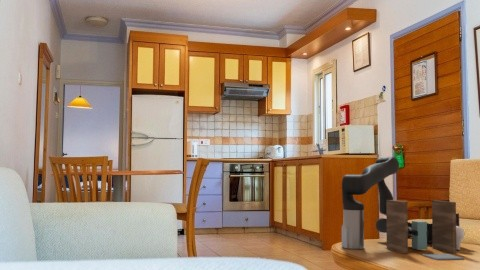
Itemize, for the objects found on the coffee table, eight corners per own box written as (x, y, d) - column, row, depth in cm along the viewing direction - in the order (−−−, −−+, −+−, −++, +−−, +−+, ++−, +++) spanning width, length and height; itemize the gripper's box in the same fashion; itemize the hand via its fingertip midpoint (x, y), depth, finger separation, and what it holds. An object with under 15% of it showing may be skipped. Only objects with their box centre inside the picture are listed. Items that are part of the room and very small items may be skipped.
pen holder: (415, 243, 249) (415, 223, 250) (413, 241, 258) (413, 221, 259) (436, 244, 247) (435, 224, 248) (433, 242, 256) (433, 222, 257)
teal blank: (417, 249, 223) (417, 222, 224) (411, 247, 228) (411, 220, 229) (426, 249, 224) (426, 222, 225) (420, 247, 228) (420, 221, 229)
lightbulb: (464, 250, 230) (463, 225, 231) (465, 252, 224) (465, 226, 225) (449, 249, 232) (448, 224, 233) (450, 251, 226) (449, 226, 227)
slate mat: (436, 260, 200) (436, 258, 200) (421, 255, 211) (421, 254, 211) (463, 259, 203) (463, 258, 203) (447, 255, 213) (447, 253, 213)
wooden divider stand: (404, 254, 214) (404, 201, 216) (386, 248, 230) (386, 199, 232) (456, 253, 219) (455, 202, 221) (435, 248, 235) (434, 200, 237)
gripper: (389, 221, 239) (407, 224, 222) (416, 221, 242) (437, 224, 225) (389, 237, 238) (407, 242, 222) (416, 237, 241) (437, 242, 224)
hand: (422, 233), depth 224 cm, fingers closed on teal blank, 4 cm apart
